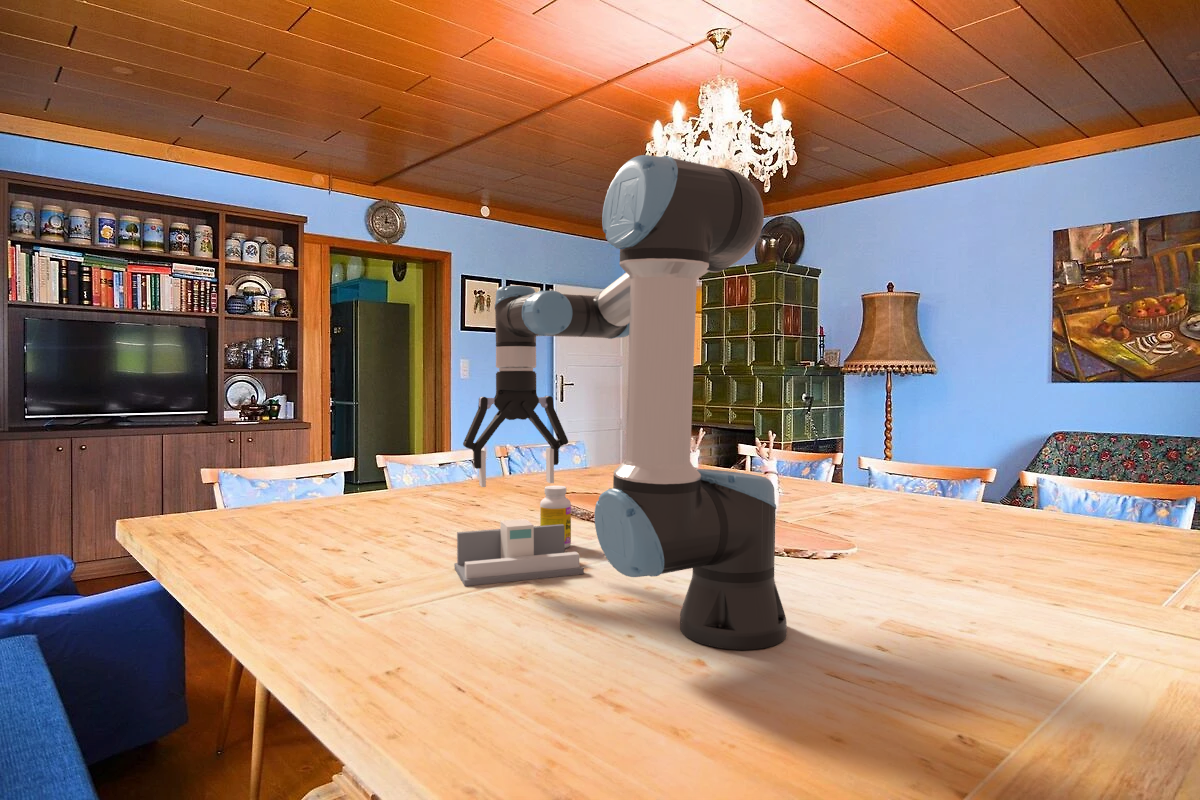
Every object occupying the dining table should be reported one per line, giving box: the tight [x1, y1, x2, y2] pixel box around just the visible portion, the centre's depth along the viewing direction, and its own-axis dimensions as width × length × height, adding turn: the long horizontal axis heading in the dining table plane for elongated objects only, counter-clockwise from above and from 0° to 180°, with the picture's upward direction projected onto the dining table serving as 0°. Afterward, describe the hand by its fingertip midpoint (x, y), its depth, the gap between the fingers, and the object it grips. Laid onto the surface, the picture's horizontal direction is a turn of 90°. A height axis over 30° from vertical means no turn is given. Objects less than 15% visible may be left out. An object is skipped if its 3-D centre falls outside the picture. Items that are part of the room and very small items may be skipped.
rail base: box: [453, 524, 585, 587], centre depth 134 cm, size 12×22×7 cm, turn 110°
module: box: [499, 518, 535, 558], centre depth 135 cm, size 6×5×8 cm
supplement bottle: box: [539, 485, 572, 549], centre depth 153 cm, size 7×7×13 cm
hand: (516, 484), depth 135 cm, fingers open, 12 cm apart
